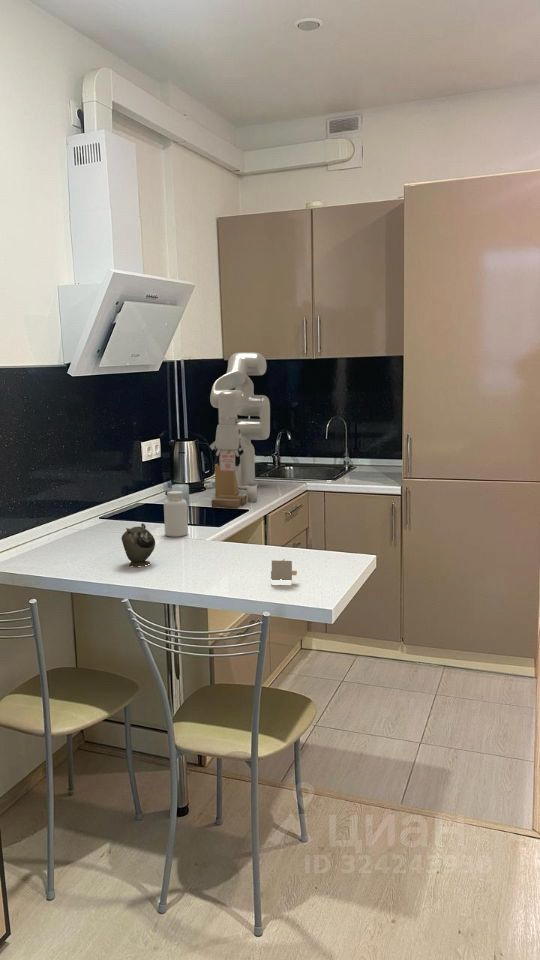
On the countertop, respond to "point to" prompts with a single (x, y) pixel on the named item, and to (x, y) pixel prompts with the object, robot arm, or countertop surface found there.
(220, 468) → the tea bag
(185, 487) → the mug
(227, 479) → the sandwich container
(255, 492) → the salt shaker
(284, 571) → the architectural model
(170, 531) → the pill bottle
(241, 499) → the podium
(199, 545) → the countertop surface
